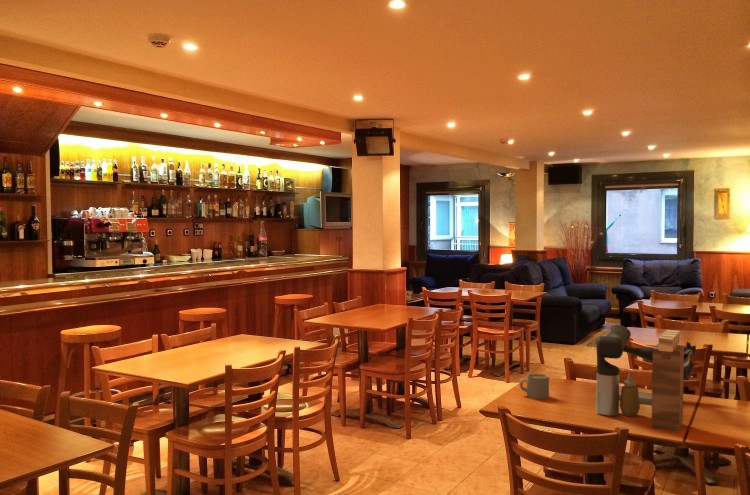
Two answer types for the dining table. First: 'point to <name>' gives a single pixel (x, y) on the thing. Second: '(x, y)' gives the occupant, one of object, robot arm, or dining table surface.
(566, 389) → the dining table surface
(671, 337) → the bar
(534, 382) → the coffee mug
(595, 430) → the dining table surface
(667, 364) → the stand
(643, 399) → the board
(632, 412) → the squeeze bottle
